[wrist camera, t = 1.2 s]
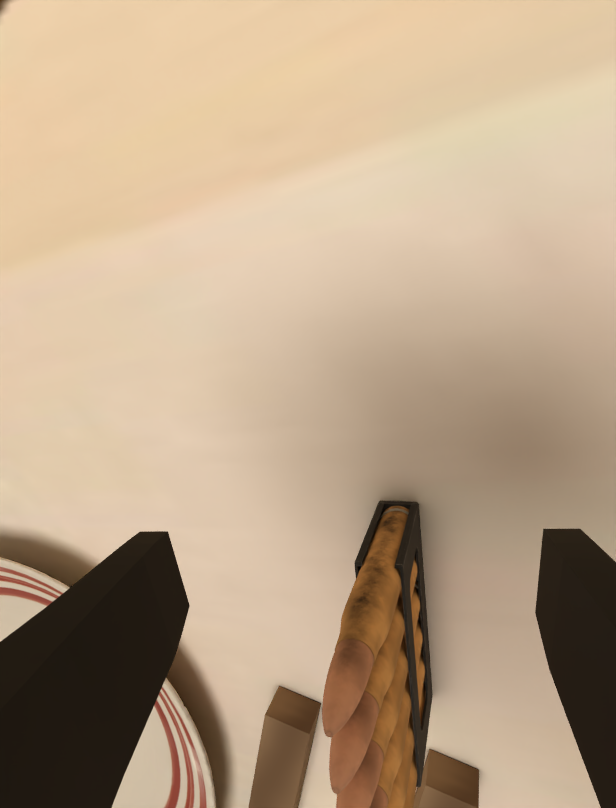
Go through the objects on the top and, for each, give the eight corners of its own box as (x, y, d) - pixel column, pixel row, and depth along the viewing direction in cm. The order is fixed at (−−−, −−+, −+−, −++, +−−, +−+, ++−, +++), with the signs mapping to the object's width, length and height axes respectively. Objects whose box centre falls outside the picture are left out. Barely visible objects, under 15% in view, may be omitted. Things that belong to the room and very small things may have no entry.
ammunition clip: (432, 697, 26) (394, 1020, 15) (395, 692, 26) (333, 998, 15) (418, 501, 23) (360, 709, 12) (378, 500, 24) (289, 697, 13)
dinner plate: (254, 608, 28) (226, 649, 25) (217, 926, 36) (192, 987, 33) (-104, 484, 35) (-159, 504, 32) (-69, 771, 43) (-110, 809, 40)
